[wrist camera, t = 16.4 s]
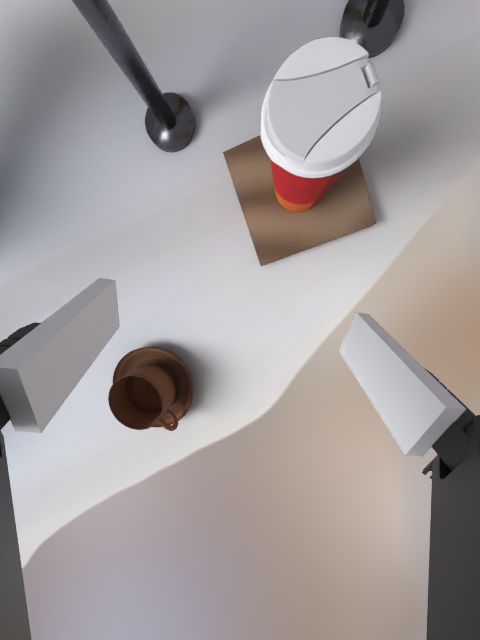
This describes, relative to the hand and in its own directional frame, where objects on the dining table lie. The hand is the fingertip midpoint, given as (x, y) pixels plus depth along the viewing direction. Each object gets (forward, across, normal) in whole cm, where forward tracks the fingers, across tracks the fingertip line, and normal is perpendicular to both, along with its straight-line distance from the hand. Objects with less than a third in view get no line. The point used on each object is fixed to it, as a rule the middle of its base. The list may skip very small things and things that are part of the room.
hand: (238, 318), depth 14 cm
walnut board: (+22, +7, +7) cm, 24 cm away
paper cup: (+21, +7, +7) cm, 23 cm away
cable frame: (+27, +1, +17) cm, 32 cm away
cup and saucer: (+16, -8, -22) cm, 28 cm away
